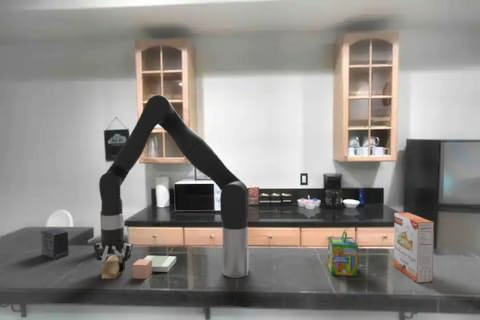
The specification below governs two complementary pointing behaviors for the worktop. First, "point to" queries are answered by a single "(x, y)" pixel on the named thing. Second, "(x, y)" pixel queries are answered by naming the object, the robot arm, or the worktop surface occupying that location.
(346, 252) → the chalk box
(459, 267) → the worktop surface
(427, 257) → the cracker box
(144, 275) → the cube
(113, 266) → the tan rectangular block
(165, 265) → the pad
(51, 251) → the small box
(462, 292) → the worktop surface
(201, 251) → the worktop surface
